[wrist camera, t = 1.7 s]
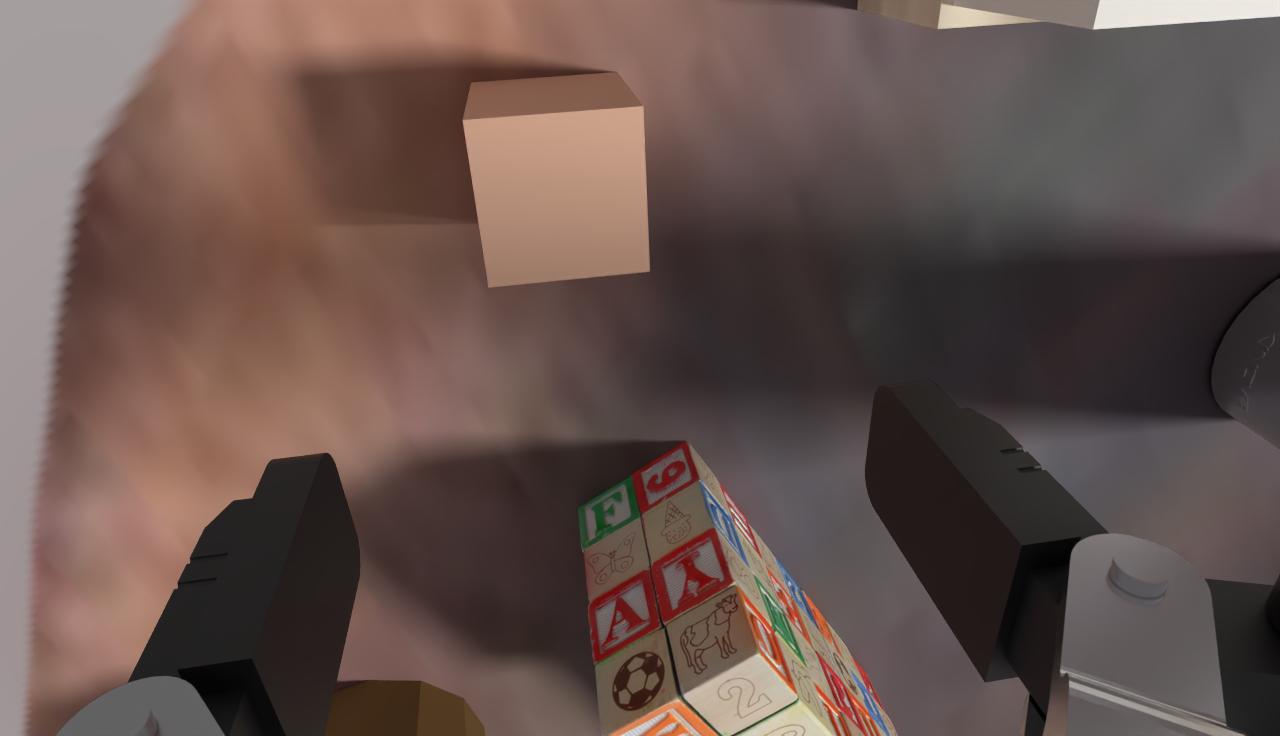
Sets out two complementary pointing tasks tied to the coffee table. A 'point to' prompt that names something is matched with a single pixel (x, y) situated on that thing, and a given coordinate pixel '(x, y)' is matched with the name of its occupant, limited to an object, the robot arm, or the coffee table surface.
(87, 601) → the coffee table surface
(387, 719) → the flowerpot
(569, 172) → the tan block
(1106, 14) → the cream middle block
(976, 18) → the maple base block
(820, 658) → the stack of blocks
